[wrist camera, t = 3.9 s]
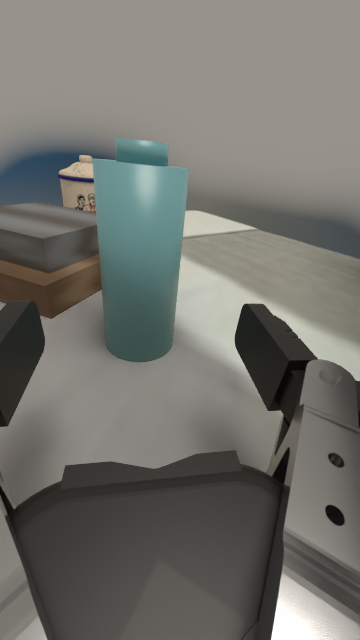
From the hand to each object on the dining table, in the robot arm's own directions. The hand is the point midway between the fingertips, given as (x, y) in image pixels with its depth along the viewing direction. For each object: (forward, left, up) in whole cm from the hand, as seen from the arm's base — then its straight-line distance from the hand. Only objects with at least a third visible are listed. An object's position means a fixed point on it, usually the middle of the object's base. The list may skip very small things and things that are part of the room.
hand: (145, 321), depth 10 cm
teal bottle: (-7, -4, -7) cm, 10 cm away
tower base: (-14, -20, -7) cm, 25 cm away
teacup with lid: (-34, -28, -7) cm, 44 cm away
